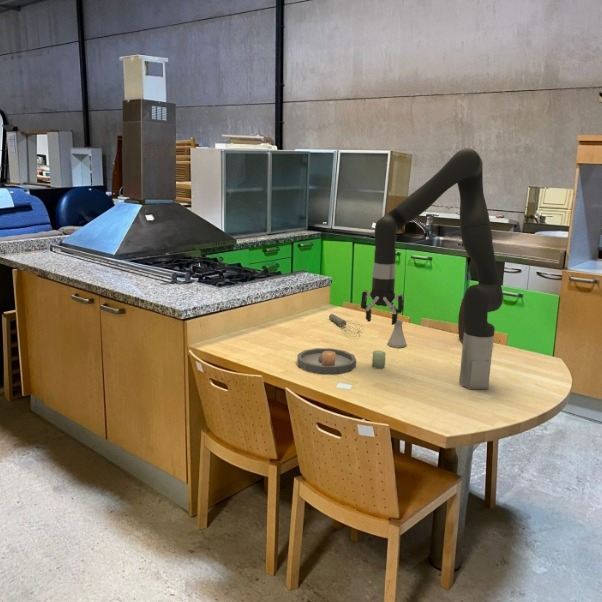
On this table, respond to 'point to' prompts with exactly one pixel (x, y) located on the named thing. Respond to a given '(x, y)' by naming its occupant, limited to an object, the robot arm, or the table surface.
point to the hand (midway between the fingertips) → (381, 322)
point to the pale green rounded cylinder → (378, 359)
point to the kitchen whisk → (342, 322)
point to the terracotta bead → (328, 358)
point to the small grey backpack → (461, 322)
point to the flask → (397, 336)
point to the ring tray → (313, 361)
